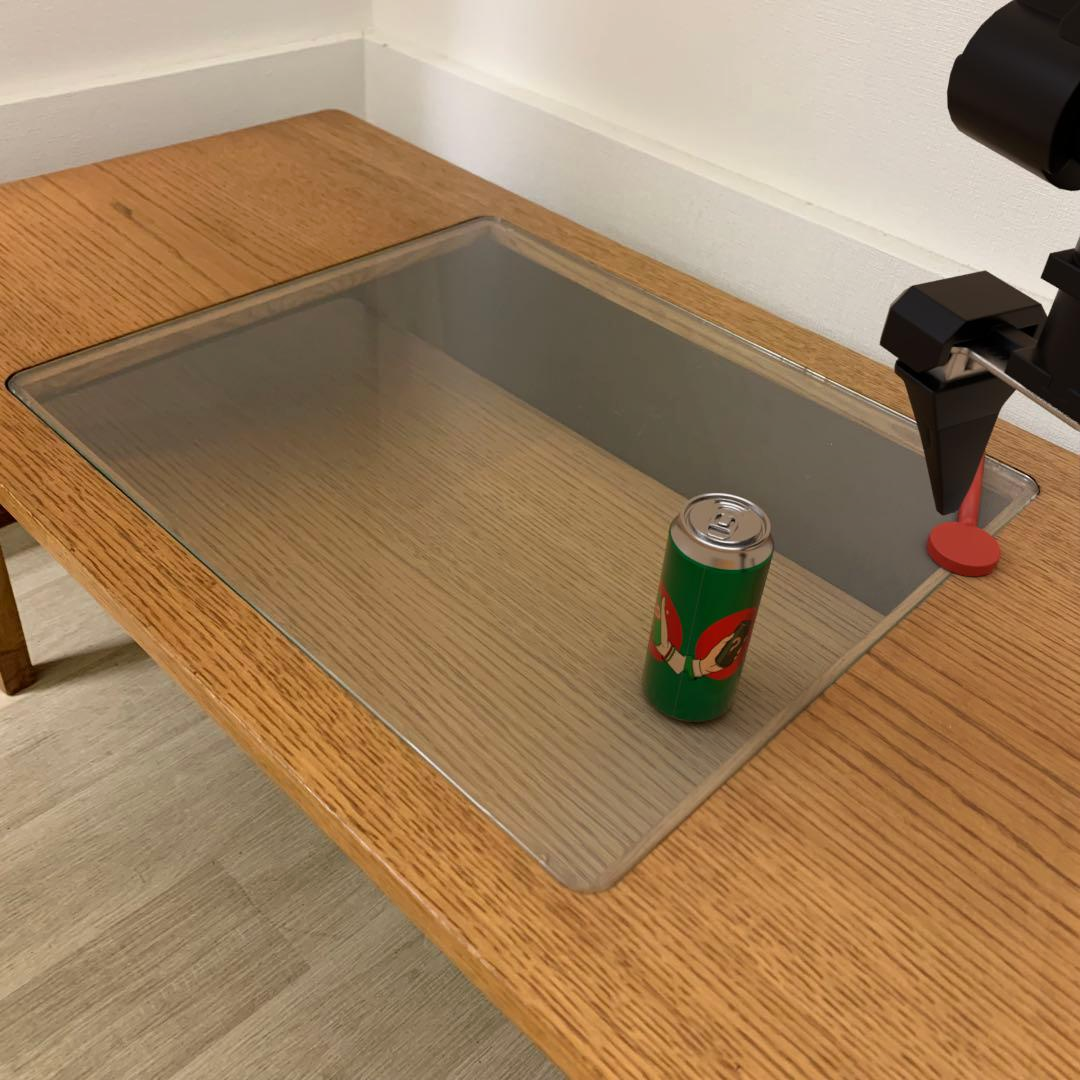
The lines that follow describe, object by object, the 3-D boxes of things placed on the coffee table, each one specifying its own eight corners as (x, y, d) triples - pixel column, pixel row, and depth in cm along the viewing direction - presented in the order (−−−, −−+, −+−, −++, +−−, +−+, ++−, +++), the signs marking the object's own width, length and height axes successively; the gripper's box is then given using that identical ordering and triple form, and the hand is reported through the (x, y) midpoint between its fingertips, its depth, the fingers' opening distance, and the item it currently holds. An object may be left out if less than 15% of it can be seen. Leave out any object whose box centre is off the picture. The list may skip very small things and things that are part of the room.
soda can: (745, 679, 62) (791, 507, 54) (717, 742, 58) (762, 568, 51) (659, 647, 63) (692, 476, 56) (626, 707, 60) (657, 532, 52)
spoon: (994, 584, 70) (1001, 570, 69) (922, 564, 71) (928, 550, 70) (1006, 462, 80) (1011, 449, 80) (943, 446, 81) (948, 433, 81)
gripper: (1564, 326, 37) (1322, 658, 47) (1114, 128, 50) (998, 424, 60) (1361, 392, 33) (1142, 742, 43) (923, 157, 45) (832, 471, 55)
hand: (1019, 571), depth 50 cm, fingers open, 9 cm apart
